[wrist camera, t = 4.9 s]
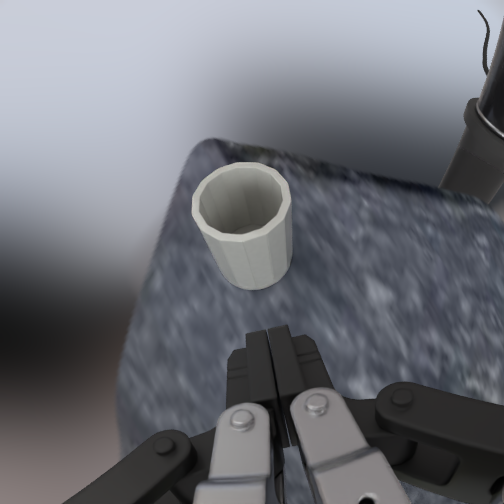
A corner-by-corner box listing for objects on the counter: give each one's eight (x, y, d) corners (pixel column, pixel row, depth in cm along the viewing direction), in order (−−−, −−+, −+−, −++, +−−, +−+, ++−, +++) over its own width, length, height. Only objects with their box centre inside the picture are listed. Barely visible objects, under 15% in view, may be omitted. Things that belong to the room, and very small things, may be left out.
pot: (244, 212, 27) (229, 151, 20) (306, 243, 25) (309, 183, 18) (202, 266, 25) (172, 213, 18) (265, 304, 23) (254, 260, 16)
